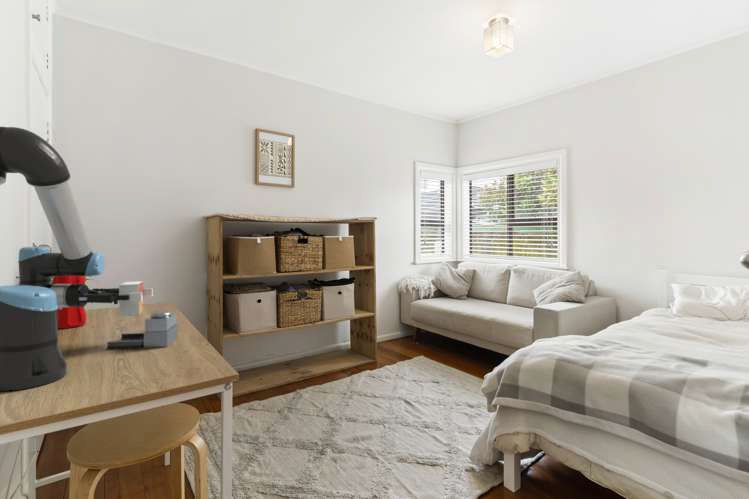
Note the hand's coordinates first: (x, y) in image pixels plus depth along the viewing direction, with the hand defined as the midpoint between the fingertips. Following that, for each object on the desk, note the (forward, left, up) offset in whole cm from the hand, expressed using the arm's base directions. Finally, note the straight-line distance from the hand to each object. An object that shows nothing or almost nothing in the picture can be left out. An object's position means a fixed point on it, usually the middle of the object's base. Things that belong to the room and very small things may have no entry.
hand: (147, 294), depth 128 cm
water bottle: (+30, +39, -17) cm, 52 cm away
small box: (0, +5, -7) cm, 8 cm away
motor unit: (0, +1, -16) cm, 16 cm away
